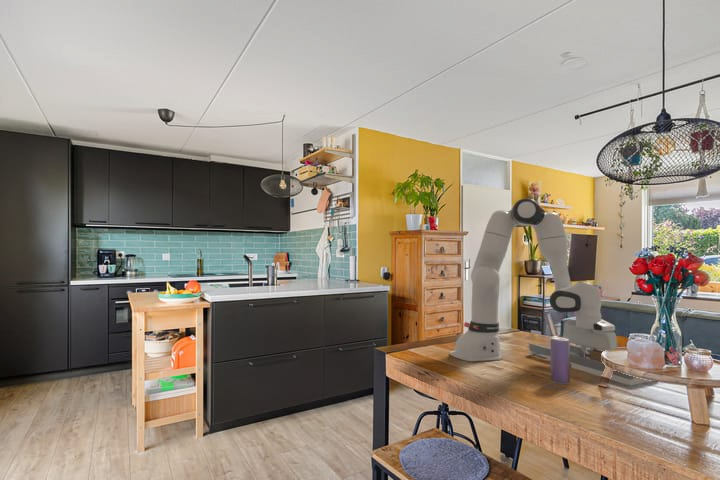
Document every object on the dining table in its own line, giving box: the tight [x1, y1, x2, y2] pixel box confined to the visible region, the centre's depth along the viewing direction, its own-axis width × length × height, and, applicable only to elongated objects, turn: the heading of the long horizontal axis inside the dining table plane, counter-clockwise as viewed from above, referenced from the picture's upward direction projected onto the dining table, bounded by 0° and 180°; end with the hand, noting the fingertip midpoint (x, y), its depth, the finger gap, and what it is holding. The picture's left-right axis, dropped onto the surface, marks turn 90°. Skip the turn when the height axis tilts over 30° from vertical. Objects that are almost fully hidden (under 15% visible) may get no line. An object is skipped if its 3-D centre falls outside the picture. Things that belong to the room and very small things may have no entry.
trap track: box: [528, 342, 651, 387], centre depth 153 cm, size 16×42×6 cm, turn 25°
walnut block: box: [589, 349, 603, 362], centre depth 147 cm, size 6×6×5 cm
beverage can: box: [550, 336, 571, 385], centre depth 133 cm, size 6×6×15 cm
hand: (588, 358), depth 152 cm, fingers closed
